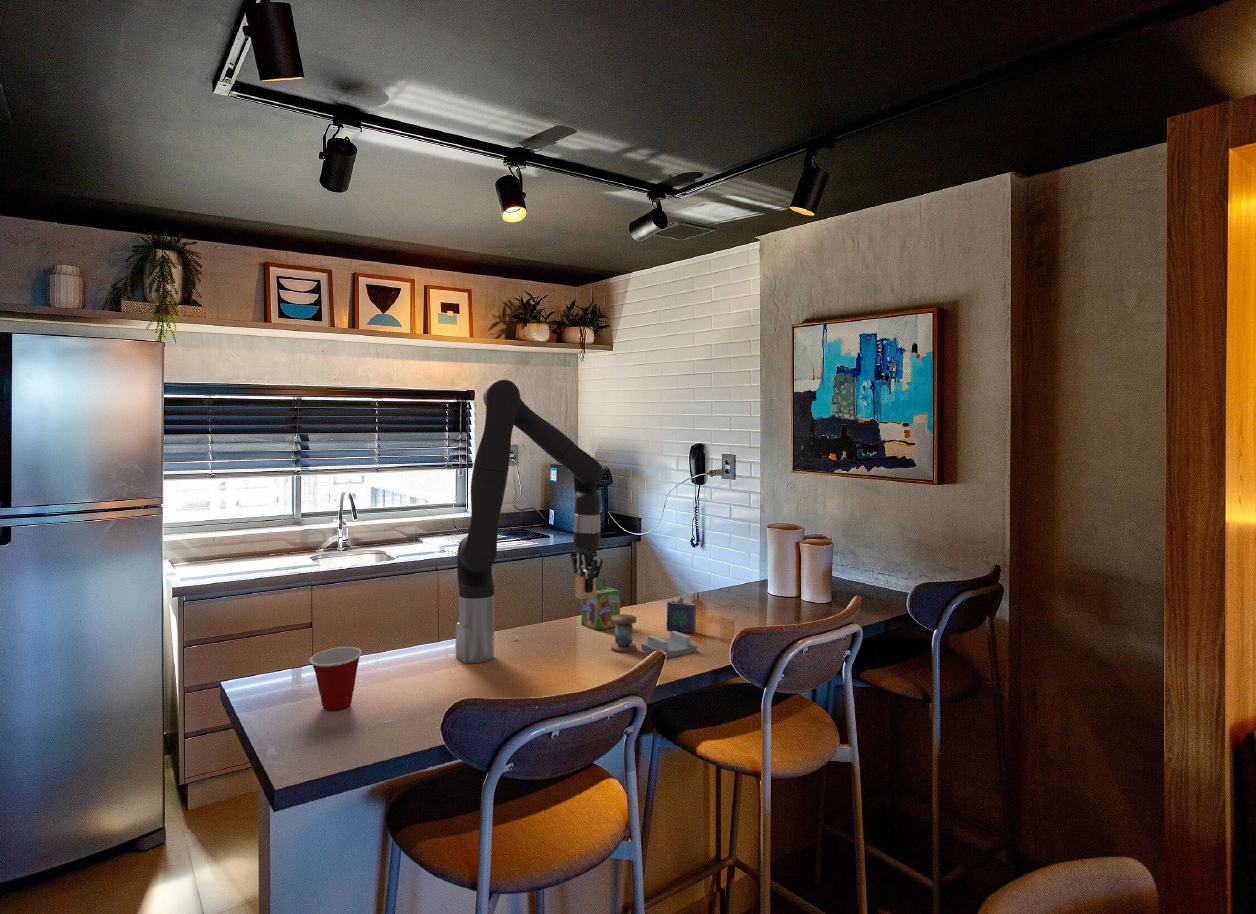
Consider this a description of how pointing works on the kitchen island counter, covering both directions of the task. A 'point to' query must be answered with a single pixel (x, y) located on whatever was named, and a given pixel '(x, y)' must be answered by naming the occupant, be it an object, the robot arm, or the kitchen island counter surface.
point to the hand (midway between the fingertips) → (585, 590)
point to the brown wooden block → (583, 588)
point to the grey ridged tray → (670, 644)
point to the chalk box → (601, 607)
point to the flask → (681, 616)
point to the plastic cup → (336, 676)
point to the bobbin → (623, 633)
